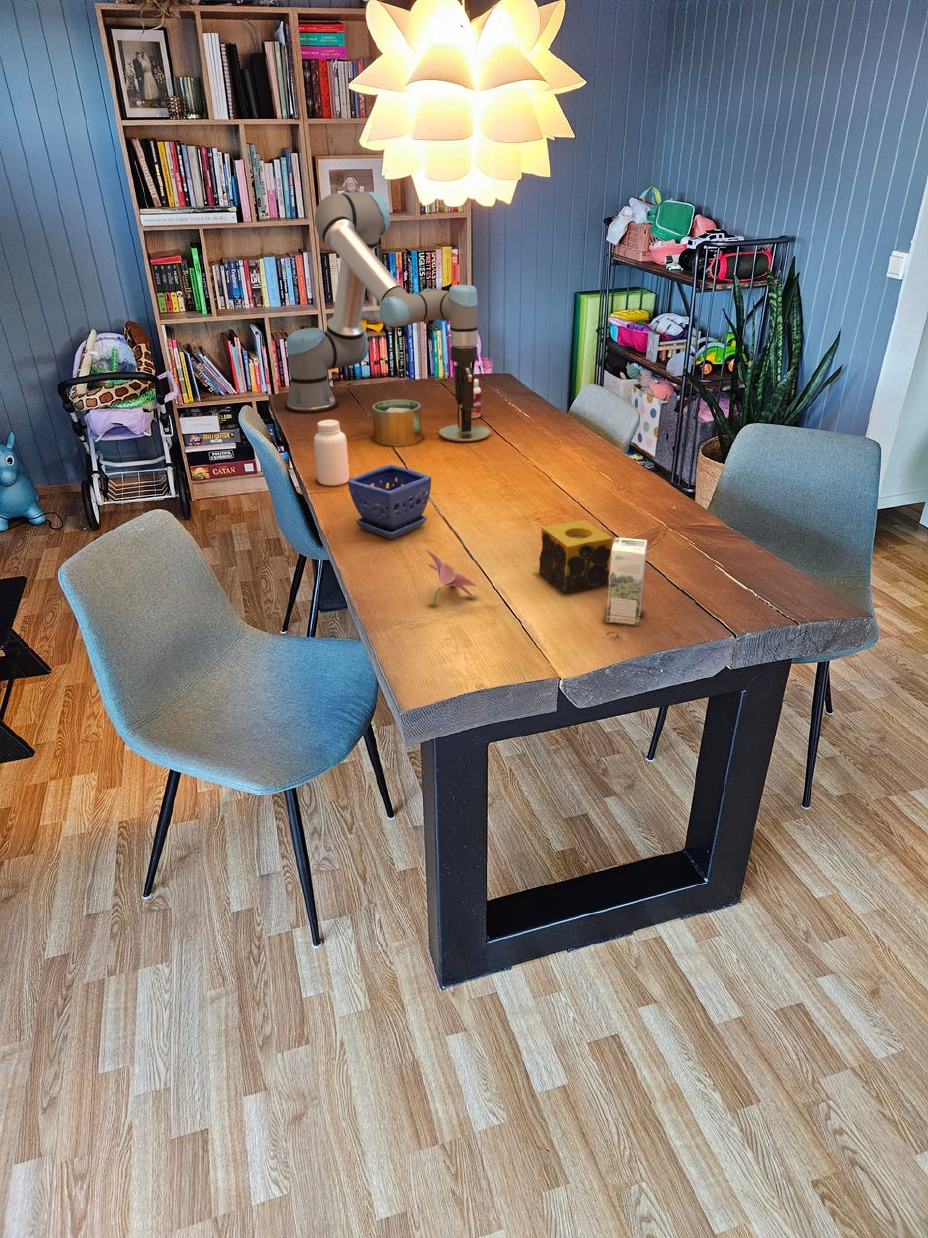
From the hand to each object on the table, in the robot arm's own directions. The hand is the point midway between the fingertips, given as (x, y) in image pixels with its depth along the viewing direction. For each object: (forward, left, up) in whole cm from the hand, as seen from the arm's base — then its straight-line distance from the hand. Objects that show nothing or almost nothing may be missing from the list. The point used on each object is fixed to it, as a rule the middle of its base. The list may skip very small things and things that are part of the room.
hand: (464, 429), depth 252 cm
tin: (-3, -19, -2) cm, 19 cm away
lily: (+97, -29, -2) cm, 101 cm away
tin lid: (0, 0, -1) cm, 1 cm away
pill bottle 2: (-19, +7, -2) cm, 20 cm away
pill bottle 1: (+27, -41, -2) cm, 49 cm away
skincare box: (-4, -19, -2) cm, 19 cm away
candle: (+96, -4, -2) cm, 96 cm away
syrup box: (+113, -1, -2) cm, 113 cm away
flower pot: (+61, -33, -2) cm, 69 cm away
